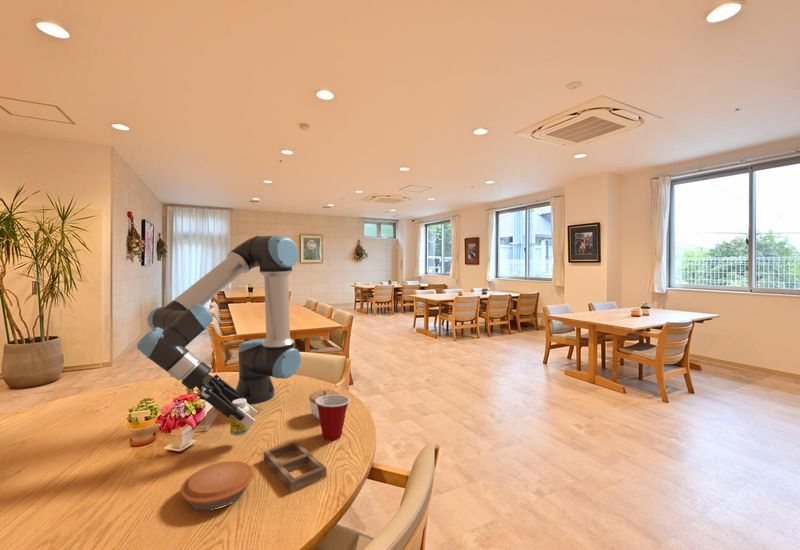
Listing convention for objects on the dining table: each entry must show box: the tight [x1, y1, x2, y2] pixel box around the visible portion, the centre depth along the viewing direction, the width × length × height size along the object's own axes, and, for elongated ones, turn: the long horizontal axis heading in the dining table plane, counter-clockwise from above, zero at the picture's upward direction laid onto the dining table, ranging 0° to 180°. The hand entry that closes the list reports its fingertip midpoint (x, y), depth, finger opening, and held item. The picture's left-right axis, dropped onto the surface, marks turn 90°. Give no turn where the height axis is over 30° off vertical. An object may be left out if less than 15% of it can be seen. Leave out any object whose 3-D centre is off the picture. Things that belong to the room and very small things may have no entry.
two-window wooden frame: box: [263, 440, 327, 493], centre depth 95 cm, size 18×10×2 cm, turn 41°
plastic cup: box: [315, 394, 351, 441], centre depth 113 cm, size 11×11×12 cm
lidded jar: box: [308, 389, 341, 421], centre depth 127 cm, size 11×11×9 cm
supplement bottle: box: [229, 398, 251, 437], centre depth 106 cm, size 5×5×10 cm
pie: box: [179, 460, 255, 511], centre depth 84 cm, size 15×16×5 cm
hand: (253, 419), depth 108 cm, fingers closed on supplement bottle, 5 cm apart
